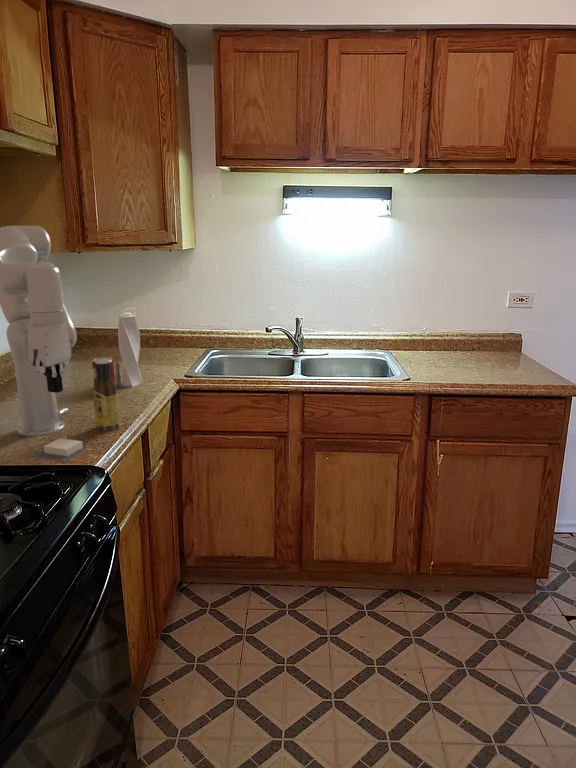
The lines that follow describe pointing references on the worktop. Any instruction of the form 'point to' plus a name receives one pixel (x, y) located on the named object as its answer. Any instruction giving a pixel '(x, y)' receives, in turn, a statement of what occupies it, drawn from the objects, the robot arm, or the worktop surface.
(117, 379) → the skyscraper
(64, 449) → the cream tile
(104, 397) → the sauce bottle
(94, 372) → the soda can
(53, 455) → the rubber mat
